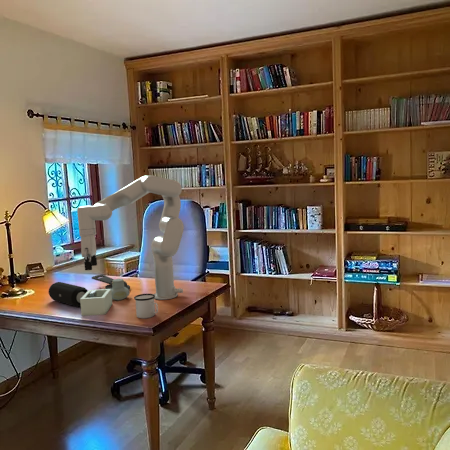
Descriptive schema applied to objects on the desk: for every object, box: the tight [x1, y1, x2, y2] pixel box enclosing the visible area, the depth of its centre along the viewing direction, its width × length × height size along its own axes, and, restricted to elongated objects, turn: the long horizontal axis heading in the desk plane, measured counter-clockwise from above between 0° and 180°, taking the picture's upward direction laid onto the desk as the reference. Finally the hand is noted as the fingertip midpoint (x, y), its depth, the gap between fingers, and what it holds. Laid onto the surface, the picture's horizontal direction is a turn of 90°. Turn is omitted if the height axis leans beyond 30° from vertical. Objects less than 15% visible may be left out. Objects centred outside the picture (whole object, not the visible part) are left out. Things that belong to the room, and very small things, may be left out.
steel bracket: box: [89, 289, 97, 298], centre depth 227 cm, size 5×5×8 cm
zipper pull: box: [91, 273, 131, 291], centre depth 267 cm, size 9×7×25 cm
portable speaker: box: [48, 281, 88, 308], centre depth 241 cm, size 26×10×10 cm, turn 49°
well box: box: [80, 288, 113, 317], centre depth 227 cm, size 11×16×8 cm
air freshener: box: [111, 278, 131, 301], centre depth 245 cm, size 11×8×10 cm
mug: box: [133, 293, 159, 319], centre depth 214 cm, size 12×10×9 cm
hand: (91, 267), depth 225 cm, fingers open, 9 cm apart
